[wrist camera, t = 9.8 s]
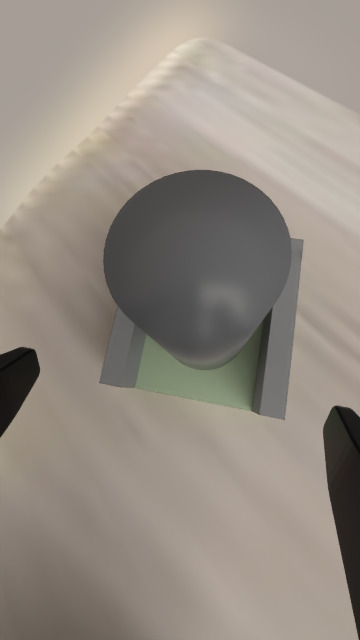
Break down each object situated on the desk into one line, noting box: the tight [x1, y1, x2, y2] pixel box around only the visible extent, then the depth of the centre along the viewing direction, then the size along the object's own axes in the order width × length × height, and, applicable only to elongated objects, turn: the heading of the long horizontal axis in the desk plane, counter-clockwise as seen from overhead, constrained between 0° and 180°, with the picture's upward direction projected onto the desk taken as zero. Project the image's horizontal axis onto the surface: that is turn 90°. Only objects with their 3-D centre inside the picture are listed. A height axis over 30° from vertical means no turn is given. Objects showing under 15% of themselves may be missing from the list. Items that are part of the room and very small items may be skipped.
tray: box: [99, 238, 304, 420], centre depth 18 cm, size 10×10×4 cm
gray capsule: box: [103, 170, 292, 370], centre depth 14 cm, size 5×5×11 cm
